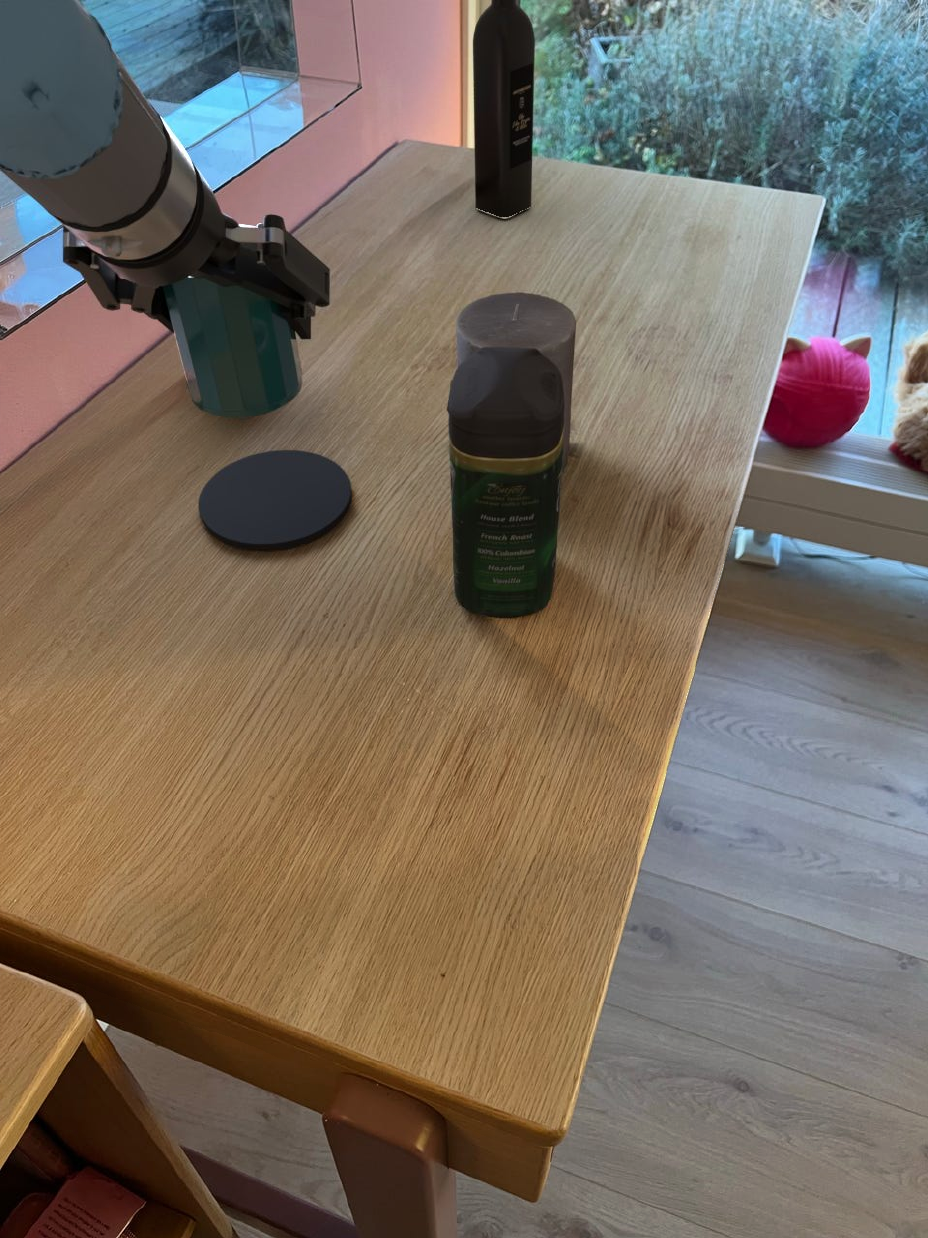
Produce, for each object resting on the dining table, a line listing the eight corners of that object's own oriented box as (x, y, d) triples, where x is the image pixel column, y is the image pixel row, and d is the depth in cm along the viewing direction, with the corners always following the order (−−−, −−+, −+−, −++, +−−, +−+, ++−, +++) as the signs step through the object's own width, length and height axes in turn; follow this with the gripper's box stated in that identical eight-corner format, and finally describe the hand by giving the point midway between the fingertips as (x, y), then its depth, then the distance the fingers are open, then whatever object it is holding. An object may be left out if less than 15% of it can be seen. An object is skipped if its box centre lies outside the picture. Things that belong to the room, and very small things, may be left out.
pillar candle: (492, 419, 94) (491, 266, 83) (586, 447, 90) (598, 292, 80) (439, 474, 88) (430, 318, 78) (537, 507, 85) (543, 348, 74)
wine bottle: (534, 208, 127) (542, -75, 106) (504, 222, 124) (506, -65, 103) (501, 196, 130) (502, -82, 108) (471, 210, 127) (466, -73, 106)
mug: (292, 418, 74) (266, 276, 67) (178, 418, 75) (140, 278, 67) (317, 336, 83) (296, 202, 75) (215, 337, 83) (184, 204, 76)
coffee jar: (556, 625, 75) (567, 414, 62) (450, 623, 75) (439, 412, 62) (556, 541, 82) (566, 334, 68) (459, 539, 82) (451, 333, 69)
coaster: (168, 520, 85) (166, 513, 84) (265, 441, 92) (263, 434, 92) (289, 571, 80) (288, 563, 79) (381, 483, 88) (380, 476, 87)
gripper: (-57, 268, 55) (110, 372, 78) (326, 261, 54) (383, 369, 77) (-56, 132, 55) (111, 276, 78) (327, 123, 54) (384, 271, 77)
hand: (246, 322), depth 77 cm, fingers closed on mug, 9 cm apart
